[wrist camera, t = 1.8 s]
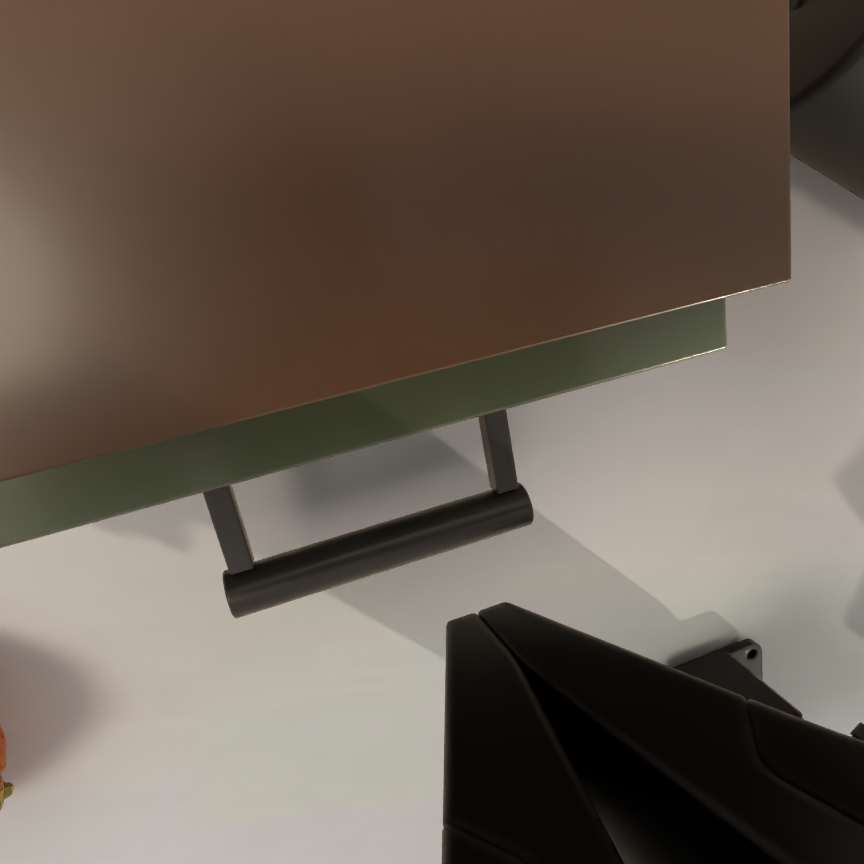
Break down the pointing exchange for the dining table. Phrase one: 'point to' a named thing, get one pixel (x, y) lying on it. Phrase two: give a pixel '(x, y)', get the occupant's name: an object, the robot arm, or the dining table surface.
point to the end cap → (828, 88)
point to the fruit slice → (3, 789)
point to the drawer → (348, 431)
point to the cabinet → (360, 195)
